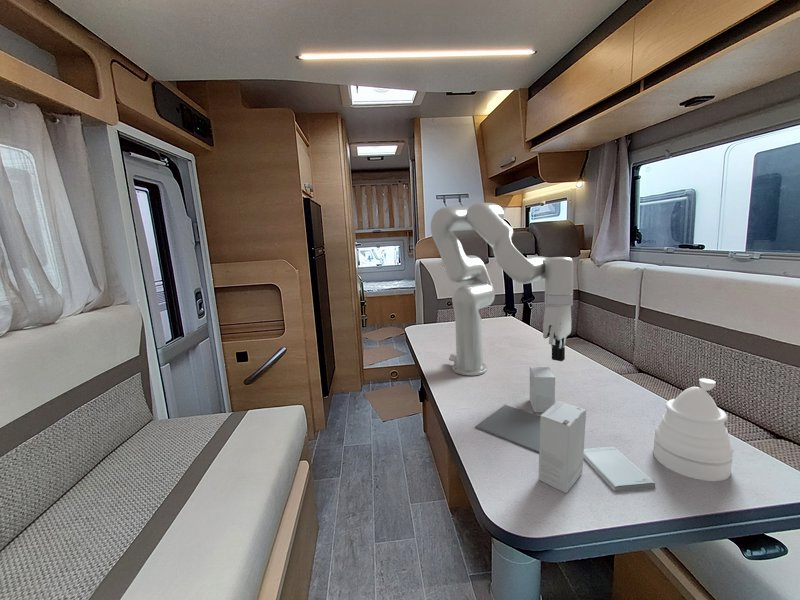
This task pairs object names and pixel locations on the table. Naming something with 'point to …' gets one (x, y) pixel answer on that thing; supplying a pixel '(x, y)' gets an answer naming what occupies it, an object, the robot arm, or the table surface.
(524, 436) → the rubber mat
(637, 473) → the hard drive
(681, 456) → the honey pot
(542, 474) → the skincare box
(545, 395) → the small box
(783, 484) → the table surface
